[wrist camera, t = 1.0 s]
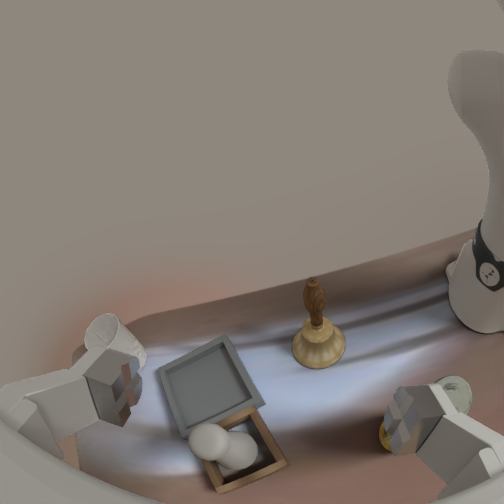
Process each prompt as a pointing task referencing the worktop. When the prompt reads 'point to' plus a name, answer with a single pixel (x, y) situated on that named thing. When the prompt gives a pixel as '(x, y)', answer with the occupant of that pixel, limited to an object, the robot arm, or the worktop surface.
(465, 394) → the sauce bottle
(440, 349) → the worktop surface
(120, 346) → the white cup
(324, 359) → the hand bell
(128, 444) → the worktop surface
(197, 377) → the tray
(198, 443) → the salt shaker
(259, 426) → the collar
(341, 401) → the worktop surface
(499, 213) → the robot arm
